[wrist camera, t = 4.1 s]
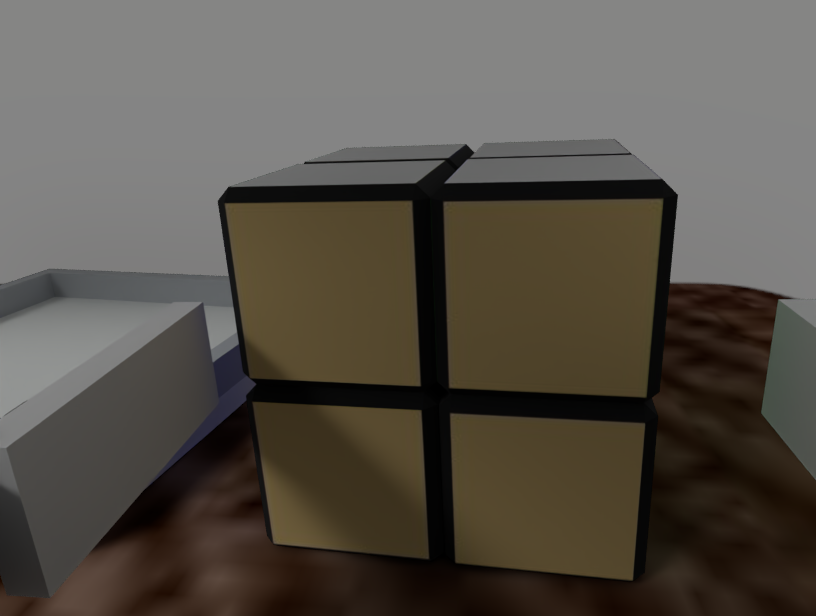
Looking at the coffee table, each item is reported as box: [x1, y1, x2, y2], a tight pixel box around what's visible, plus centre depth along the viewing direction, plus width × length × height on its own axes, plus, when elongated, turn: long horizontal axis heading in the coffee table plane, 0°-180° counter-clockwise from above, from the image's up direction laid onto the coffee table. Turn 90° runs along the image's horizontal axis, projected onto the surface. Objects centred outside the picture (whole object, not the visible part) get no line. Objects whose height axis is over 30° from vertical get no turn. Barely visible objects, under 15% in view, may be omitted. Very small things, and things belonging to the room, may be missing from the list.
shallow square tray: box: [0, 269, 256, 489], centre depth 28 cm, size 19×19×2 cm
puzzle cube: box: [218, 139, 678, 582], centre depth 19 cm, size 10×10×10 cm
